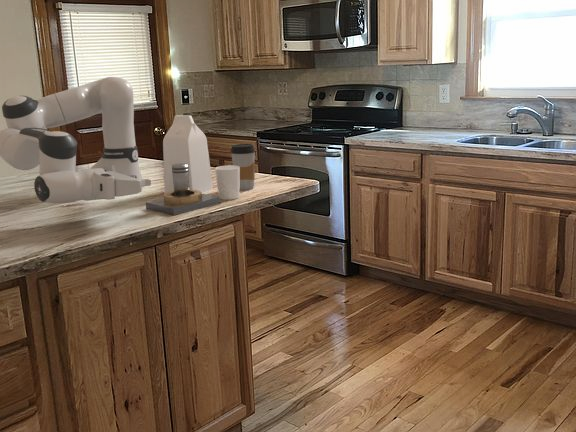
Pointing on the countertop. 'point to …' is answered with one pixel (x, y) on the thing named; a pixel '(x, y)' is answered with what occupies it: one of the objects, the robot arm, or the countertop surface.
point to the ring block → (182, 202)
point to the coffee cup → (244, 164)
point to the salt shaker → (181, 179)
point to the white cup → (228, 181)
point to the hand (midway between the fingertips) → (142, 179)
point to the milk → (187, 154)
